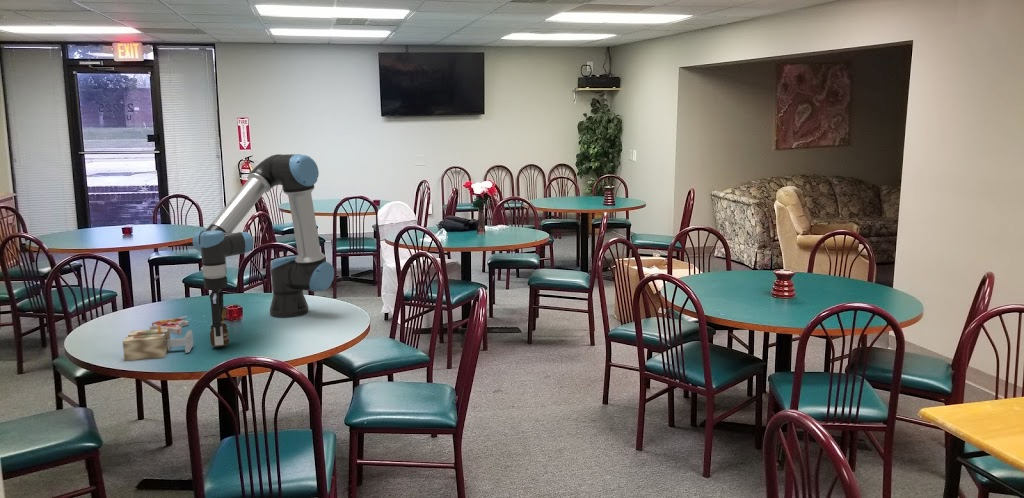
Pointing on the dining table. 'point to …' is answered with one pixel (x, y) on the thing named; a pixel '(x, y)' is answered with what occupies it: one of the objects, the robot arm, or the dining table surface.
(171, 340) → the grey flanged cylinder
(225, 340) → the utensil holder
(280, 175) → the robot arm
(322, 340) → the dining table surface
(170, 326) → the toy
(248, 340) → the dining table surface
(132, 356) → the beige box
